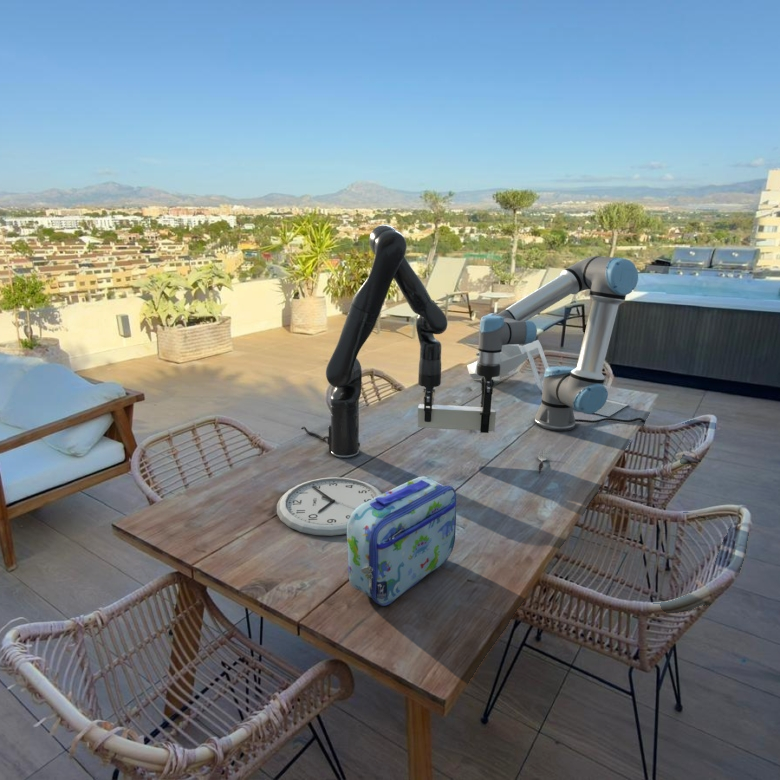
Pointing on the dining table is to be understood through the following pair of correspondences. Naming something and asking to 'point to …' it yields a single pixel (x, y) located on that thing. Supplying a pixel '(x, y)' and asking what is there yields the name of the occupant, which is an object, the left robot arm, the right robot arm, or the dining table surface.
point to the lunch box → (400, 538)
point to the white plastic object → (515, 360)
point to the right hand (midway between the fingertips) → (483, 429)
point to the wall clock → (324, 504)
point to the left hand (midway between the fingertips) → (428, 418)
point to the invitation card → (610, 408)
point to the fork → (542, 460)
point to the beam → (454, 417)
